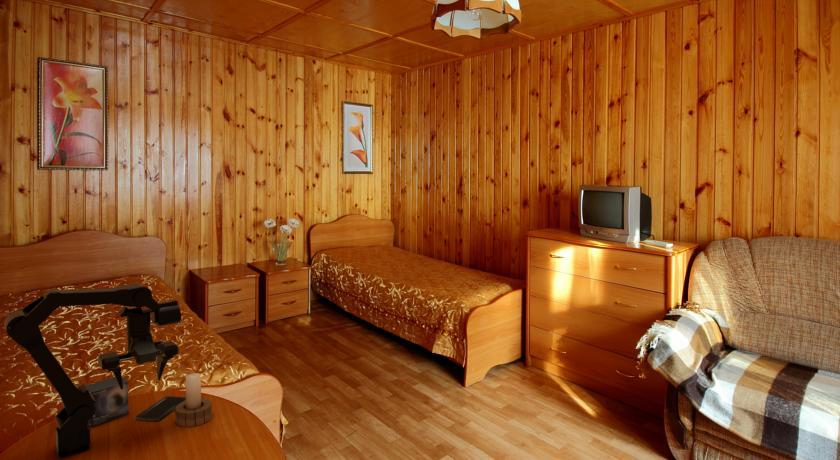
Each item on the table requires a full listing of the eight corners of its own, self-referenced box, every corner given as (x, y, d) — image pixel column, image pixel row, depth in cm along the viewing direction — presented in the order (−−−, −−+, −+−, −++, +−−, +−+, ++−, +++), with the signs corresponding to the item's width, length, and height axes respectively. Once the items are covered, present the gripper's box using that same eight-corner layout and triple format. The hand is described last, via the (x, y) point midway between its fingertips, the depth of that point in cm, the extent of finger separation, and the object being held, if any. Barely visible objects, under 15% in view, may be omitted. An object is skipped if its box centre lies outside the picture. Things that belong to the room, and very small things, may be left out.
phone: (133, 417, 141) (166, 395, 156) (133, 421, 142) (166, 399, 156) (159, 419, 141) (189, 397, 155) (159, 423, 141) (189, 400, 155)
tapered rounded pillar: (189, 423, 140) (188, 379, 139) (184, 418, 143) (183, 375, 142) (203, 419, 143) (202, 376, 142) (198, 414, 146) (197, 372, 145)
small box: (91, 428, 136) (89, 392, 135) (79, 422, 140) (78, 387, 139) (130, 414, 145) (129, 380, 144) (118, 408, 149) (117, 375, 148)
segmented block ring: (182, 430, 137) (182, 416, 136) (171, 417, 143) (171, 404, 143) (216, 419, 143) (216, 406, 143) (204, 408, 150) (204, 395, 150)
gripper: (105, 344, 122) (108, 404, 123) (184, 329, 135) (186, 384, 136) (96, 333, 130) (98, 390, 131) (171, 321, 143) (173, 372, 144)
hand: (140, 384), depth 135 cm, fingers open, 9 cm apart
